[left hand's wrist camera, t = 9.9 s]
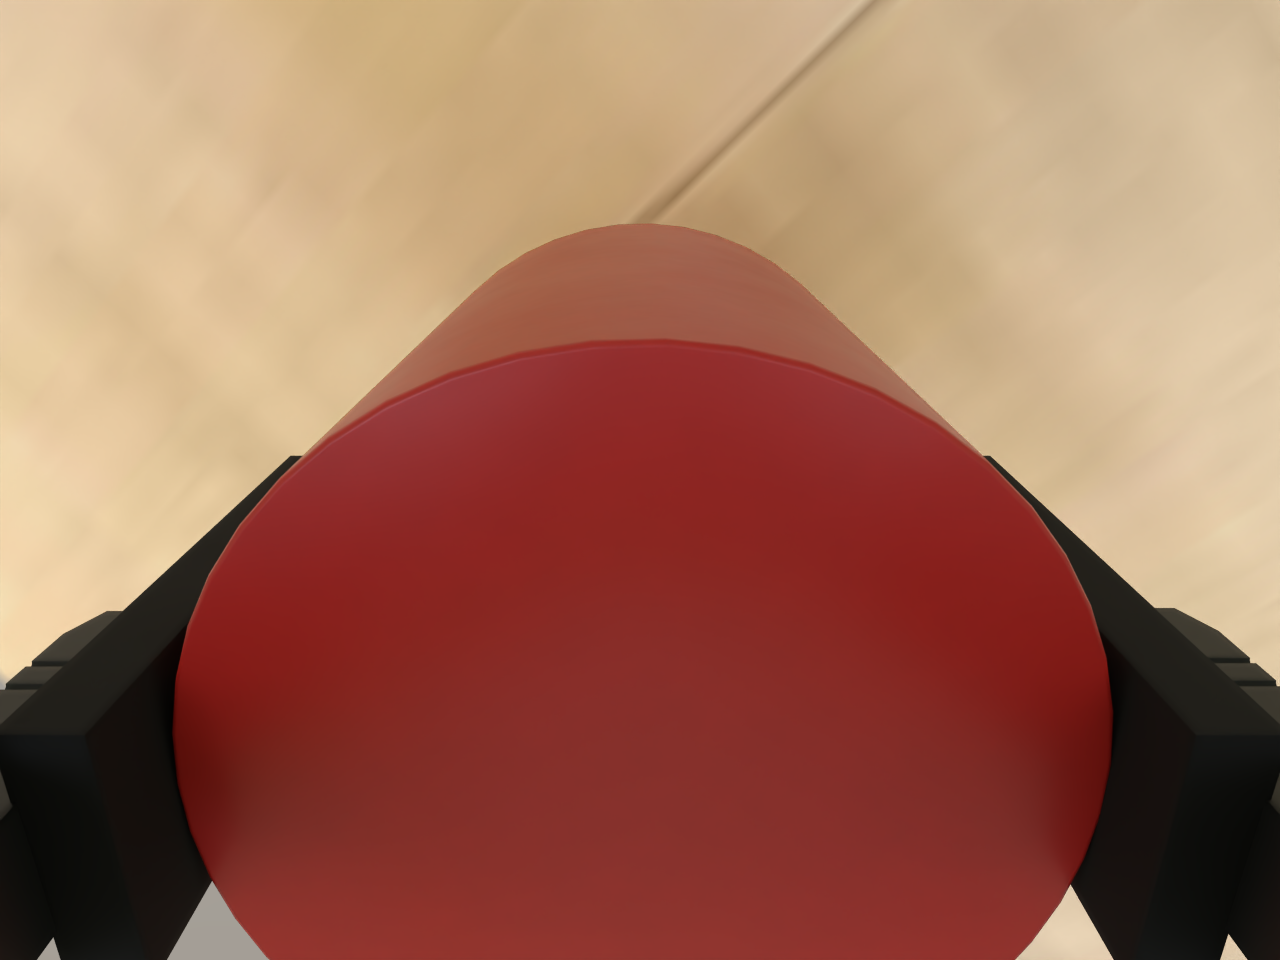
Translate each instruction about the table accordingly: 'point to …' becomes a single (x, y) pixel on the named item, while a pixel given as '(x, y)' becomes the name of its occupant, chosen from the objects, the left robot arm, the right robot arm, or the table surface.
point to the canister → (642, 646)
